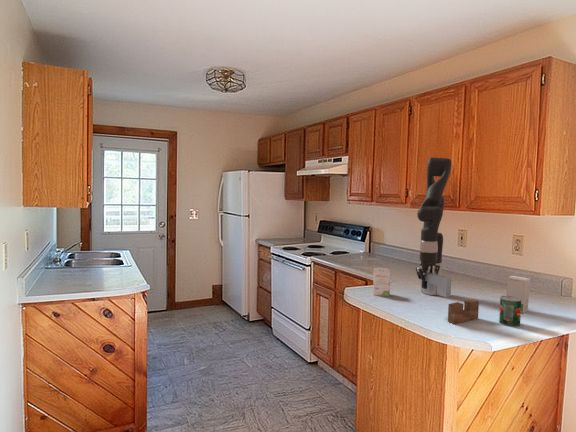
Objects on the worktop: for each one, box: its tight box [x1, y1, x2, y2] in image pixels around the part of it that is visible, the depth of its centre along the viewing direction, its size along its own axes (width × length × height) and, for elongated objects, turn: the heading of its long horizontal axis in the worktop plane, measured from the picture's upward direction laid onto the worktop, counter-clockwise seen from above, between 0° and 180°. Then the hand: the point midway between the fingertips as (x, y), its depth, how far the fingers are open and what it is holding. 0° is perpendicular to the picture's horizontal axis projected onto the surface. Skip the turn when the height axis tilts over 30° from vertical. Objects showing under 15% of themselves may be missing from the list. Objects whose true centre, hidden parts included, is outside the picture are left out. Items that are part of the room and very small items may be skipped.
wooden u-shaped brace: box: [447, 298, 480, 325], centre depth 174 cm, size 3×16×8 cm, turn 119°
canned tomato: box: [498, 295, 522, 328], centre depth 170 cm, size 8×8×11 cm
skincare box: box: [505, 275, 531, 314], centre depth 190 cm, size 8×7×16 cm
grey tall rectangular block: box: [420, 273, 452, 298], centre depth 179 cm, size 14×3×8 cm, turn 29°
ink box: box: [372, 267, 391, 297], centre depth 215 cm, size 9×5×15 cm, turn 74°
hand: (427, 287), depth 183 cm, fingers closed on grey tall rectangular block, 3 cm apart
